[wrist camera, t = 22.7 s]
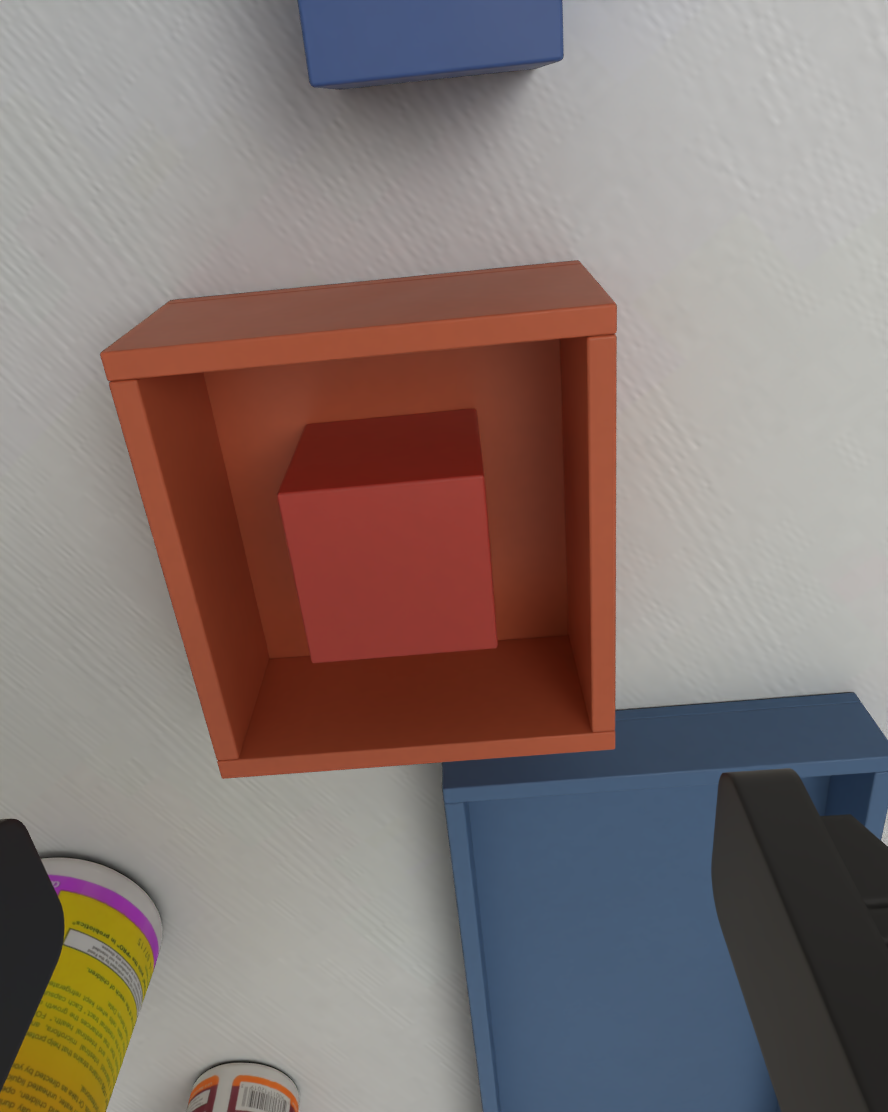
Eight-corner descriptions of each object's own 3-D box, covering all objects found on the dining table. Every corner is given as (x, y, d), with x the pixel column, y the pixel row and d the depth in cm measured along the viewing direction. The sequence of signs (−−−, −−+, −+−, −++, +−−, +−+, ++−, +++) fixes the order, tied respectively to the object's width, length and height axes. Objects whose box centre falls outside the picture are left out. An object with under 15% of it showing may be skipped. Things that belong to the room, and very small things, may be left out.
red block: (304, 423, 22) (275, 494, 18) (476, 406, 22) (484, 474, 18) (331, 572, 24) (311, 664, 20) (488, 559, 24) (498, 649, 20)
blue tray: (441, 723, 28) (441, 789, 25) (854, 691, 27) (899, 755, 24) (500, 1213, 42) (504, 1287, 40) (768, 1198, 42) (790, 1273, 39)
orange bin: (169, 299, 21) (98, 352, 17) (579, 259, 21) (617, 303, 16) (257, 666, 26) (221, 779, 22) (586, 639, 26) (615, 750, 22)
